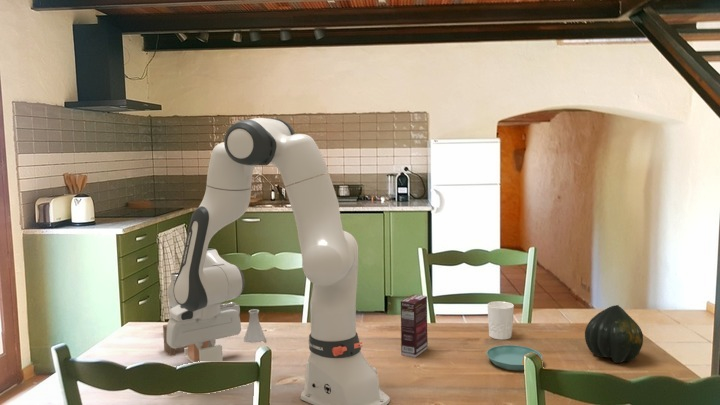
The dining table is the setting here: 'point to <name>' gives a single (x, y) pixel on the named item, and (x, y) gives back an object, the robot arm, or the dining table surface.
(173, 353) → the tunnel
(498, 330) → the white cup
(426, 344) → the supplement box
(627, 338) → the squash
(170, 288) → the plastic bottle
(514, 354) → the saucer
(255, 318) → the flask
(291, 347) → the dining table surface
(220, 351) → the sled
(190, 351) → the block
